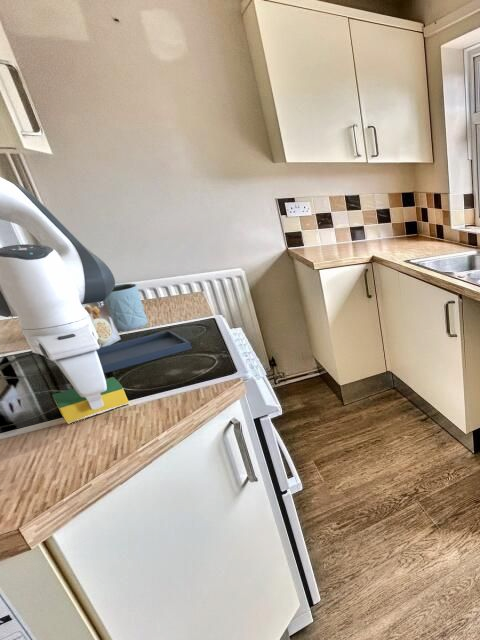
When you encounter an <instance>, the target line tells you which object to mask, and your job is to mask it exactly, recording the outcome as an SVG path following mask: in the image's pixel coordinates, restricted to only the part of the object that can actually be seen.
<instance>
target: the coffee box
mask: <svg viewBox="0 0 480 640" xmlns="http://www.w3.org/2000/svg"><path fill="white" fill-rule="evenodd" d="M82 306H83V307H84V309H85V310H86V311H87V312H88V314H89V316H90V318H91V320H92V323H93V325H94V327H95V330H96V332H97V334H98V337H99V338H98V340H97V342H98V344H99V347H104V346H108V345H112V344H116V343H118V342H120V340H122V339H121V336H120V334H119V331H117V329H116V326H115V324H114V322H113V319H112V317H111V314H110V312H109V310H108V307H107V305H106V303H105V300H104V301H102V302H95V303H89V304H82Z"/></svg>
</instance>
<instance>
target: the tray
mask: <svg viewBox="0 0 480 640" xmlns="http://www.w3.org/2000/svg"><path fill="white" fill-rule="evenodd" d="M189 350H192V345H191V342H190V341H189V340H188V339H185V338H184V337H182V336H180V335H179V334H177V333H175V332H174V331H172V330H165V331H161V332H158V333H153V334H149V335H145V336H140V337H137V338H132V339H129V340H124V341H121V342H120V341H119V342H115V343H113V344H111V345H108V346H104V347H100V348H99V349H98V350H96V352H97V354H98V357H99V360H100V363H101V366H102V369H103V373H104V374H108V373H111V372H115V371H118V370H123V369H126V368H129V367H133V366H136V365H140V364H143V363H147V362H150V361H154V360H157V359H161V358H164V357H168V356H172V355H176V354H179V353H182V352H186V351H189Z"/></svg>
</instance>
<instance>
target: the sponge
mask: <svg viewBox="0 0 480 640" xmlns="http://www.w3.org/2000/svg"><path fill="white" fill-rule="evenodd" d="M105 380H106V384H107V390H106V391H104V392H101V393H100V394H101V399H102V401H103V404H104V406H103V407H102V408H98V409H95V410H93V409H91V407H90V406H89V403H88V401H87V399H86V398H85V397H81V396H80V395H79V394H78V393H77V392H76V390H75V389H74V387H72V388H71V389H66V390H63V391H60V392H57V393H53V394H51V396H52V398H53V400H54V402H55V405H56V407H57V408H58V410H59V412H60V414H61V416H62V418H63V417H64V418H63V419H64V421H65V423H66V422H67V423H69V422H71V421H74V420H77V419H80V418H83V417H85V416H88V415H91V414H94V413H97V412H99V411H103V410H106V409H109V408H113V407H116V406H120V405H123V404H126V403H129V404H130V402H129V399H128V397H127V395H126V392H125V390H124V388H123V385H122V384H121V383H120V382H119V380H117V379H116V378H115V377H114V376H112V377H111V376H110V377H108V378H105ZM67 423H66V424H67Z"/></svg>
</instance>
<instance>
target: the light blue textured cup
mask: <svg viewBox="0 0 480 640" xmlns="http://www.w3.org/2000/svg"><path fill="white" fill-rule="evenodd" d="M141 300H142V299H141V295H140V291H139V288H138V285H137V284H135V283H120V284H115V286H114V288H113V290H112V292H111V293H110V295H109V296H108V297H107V298H106V299H105V303H106V305H107V307H108V310H109V312H110V314H111V317H112V319H113V322H114V324H115V326H116V329H117V331H118V332H121V331H129V330H134V329H138V328H141V327H144V326H145V325H147V324H149V322H148V318H147V315H146V312H145V309H144V305H143V302H142V301H141Z"/></svg>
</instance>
